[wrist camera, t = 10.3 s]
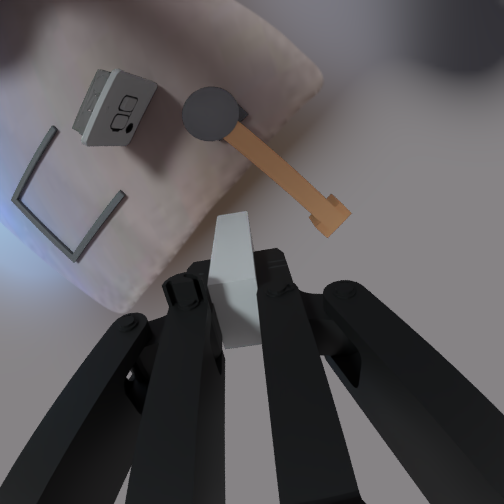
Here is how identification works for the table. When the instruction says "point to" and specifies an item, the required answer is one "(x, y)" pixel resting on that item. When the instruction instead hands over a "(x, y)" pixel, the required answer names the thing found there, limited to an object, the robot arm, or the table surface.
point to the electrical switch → (113, 108)
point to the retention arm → (257, 153)
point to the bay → (39, 224)
